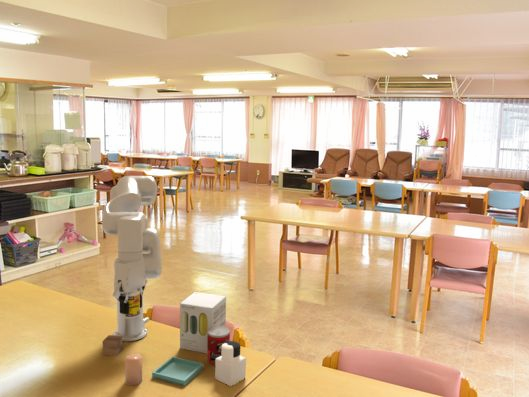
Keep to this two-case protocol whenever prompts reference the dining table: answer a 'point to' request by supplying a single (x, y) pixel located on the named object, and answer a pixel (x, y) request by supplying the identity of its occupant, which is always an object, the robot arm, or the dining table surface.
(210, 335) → the canned food
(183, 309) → the supplement box
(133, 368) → the peach rounded capsule
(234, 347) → the medicine bottle
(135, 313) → the supplement bottle
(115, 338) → the walnut block
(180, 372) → the tray
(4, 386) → the dining table surface
